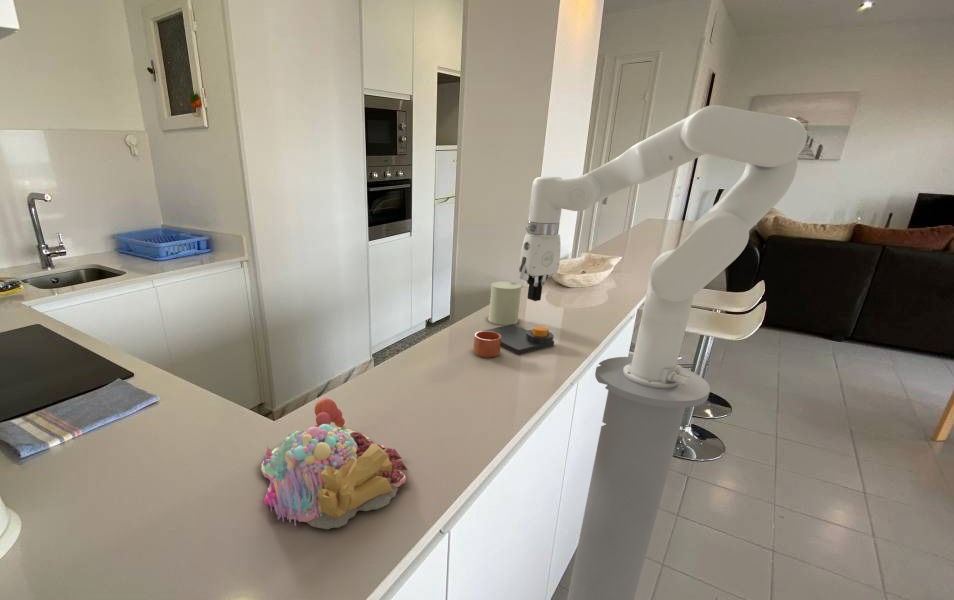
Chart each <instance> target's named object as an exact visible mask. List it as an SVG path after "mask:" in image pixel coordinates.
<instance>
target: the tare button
mask: <svg viewBox="0 0 954 600" xmlns="http://www.w3.org/2000/svg"><path fill="white" fill-rule="evenodd" d="M532 330H533V334H532V335H535V336H539V337H546V336H548V331H549V327H547V326H543V325H535V326H533V328H532Z"/></svg>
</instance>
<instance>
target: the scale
mask: <svg viewBox="0 0 954 600" xmlns="http://www.w3.org/2000/svg"><path fill="white" fill-rule="evenodd" d="M480 331H481V330H479V331H478V332H480ZM482 331H492V332H496V333H498V334H500V335H501V345H500V348H503V349H505V350H507V351H510V352H511V353H514V354H516V355H517V356H520V355H523V354H526V353H531V352H534V351H538V350H543V349H547V348H550V347H554V345H555V340H554V338H555V337H554V334H553V332H551V331H549V330H548V336H546V337H539V336H535V335H532V334H533V329H530V330H529V329H526V328H524V327H522V326H519V325H516V324H511V325H501V326H498V327H493V328H488V329H484V330H482Z"/></svg>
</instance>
